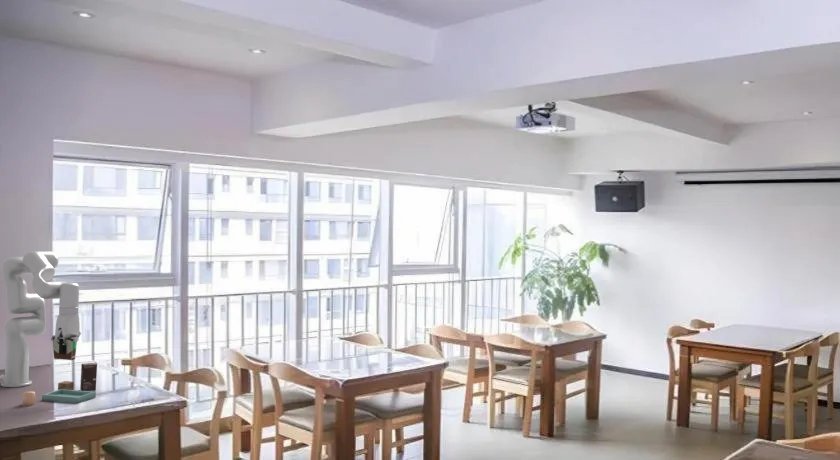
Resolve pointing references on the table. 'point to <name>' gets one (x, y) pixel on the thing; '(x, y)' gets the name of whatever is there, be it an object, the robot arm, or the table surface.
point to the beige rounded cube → (28, 398)
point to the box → (88, 376)
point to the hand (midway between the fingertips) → (67, 352)
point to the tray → (68, 396)
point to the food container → (70, 348)
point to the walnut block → (66, 385)
